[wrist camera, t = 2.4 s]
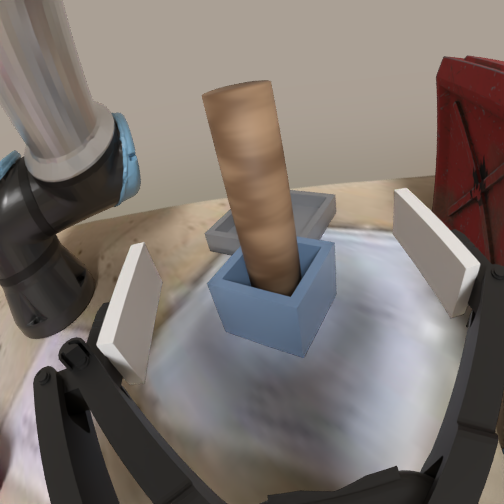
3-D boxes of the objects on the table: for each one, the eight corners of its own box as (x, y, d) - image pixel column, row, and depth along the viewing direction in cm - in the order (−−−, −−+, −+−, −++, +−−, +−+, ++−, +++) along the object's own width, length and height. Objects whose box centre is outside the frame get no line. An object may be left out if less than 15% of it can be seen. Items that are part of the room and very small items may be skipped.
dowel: (249, 317, 33) (187, 100, 20) (271, 285, 36) (227, 84, 24) (292, 330, 31) (247, 91, 18) (312, 295, 34) (282, 78, 21)
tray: (210, 250, 46) (204, 233, 44) (257, 202, 55) (254, 186, 53) (300, 270, 39) (297, 250, 37) (336, 212, 48) (335, 194, 46)
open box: (225, 331, 34) (207, 283, 30) (265, 277, 39) (255, 229, 35) (303, 357, 29) (296, 308, 25) (336, 293, 35) (334, 242, 31)
